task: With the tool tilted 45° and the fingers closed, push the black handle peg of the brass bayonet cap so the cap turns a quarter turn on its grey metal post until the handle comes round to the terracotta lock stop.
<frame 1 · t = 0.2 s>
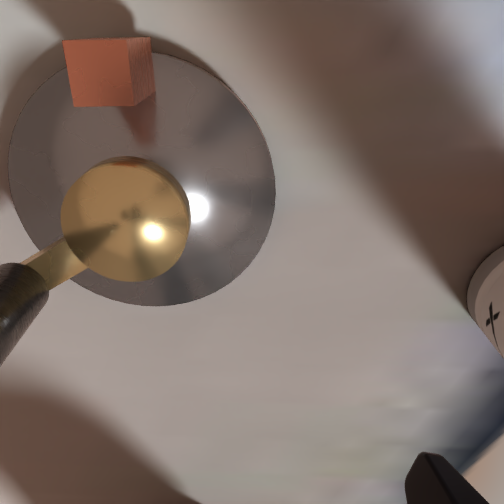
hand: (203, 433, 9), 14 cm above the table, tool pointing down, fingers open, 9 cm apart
post base: (148, 188, 22), on the table
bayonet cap: (52, 292, 15), point 8 cm above the table, hinge at 0.0°
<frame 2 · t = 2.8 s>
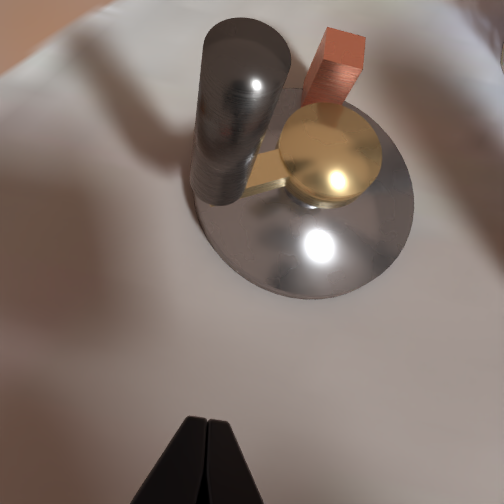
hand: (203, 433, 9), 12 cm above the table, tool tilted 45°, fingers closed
post base: (303, 192, 25), on the table
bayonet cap: (309, 120, 17), point 8 cm above the table, hinge at 0.0°
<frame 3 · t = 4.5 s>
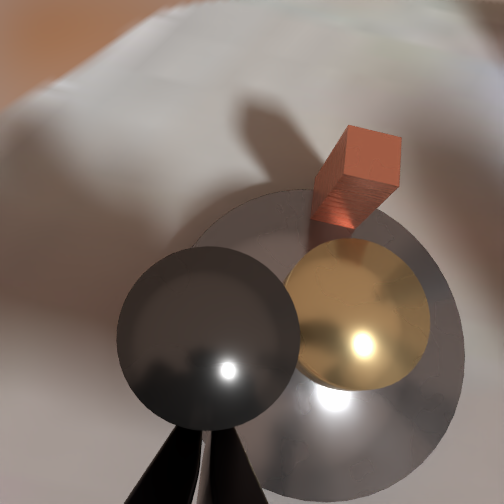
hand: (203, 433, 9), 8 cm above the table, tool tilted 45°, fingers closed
post base: (314, 332, 19), on the table
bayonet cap: (328, 314, 11), point 8 cm above the table, hinge at 0.4°, touching gripper
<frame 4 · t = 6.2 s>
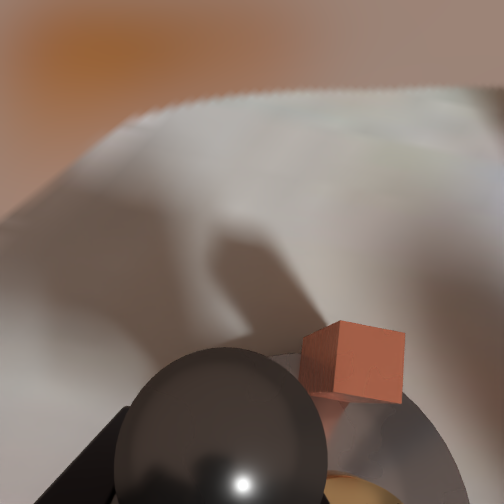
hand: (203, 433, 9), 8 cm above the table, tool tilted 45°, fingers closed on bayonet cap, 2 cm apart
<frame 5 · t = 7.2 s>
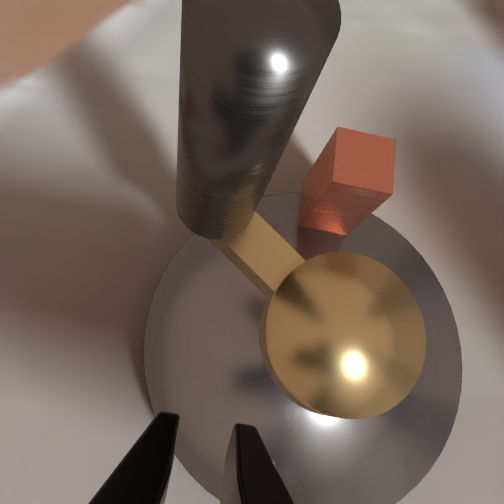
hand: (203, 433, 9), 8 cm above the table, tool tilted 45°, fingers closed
post base: (304, 346, 18), on the table
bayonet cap: (329, 248, 11), point 8 cm above the table, hinge at 66.2°
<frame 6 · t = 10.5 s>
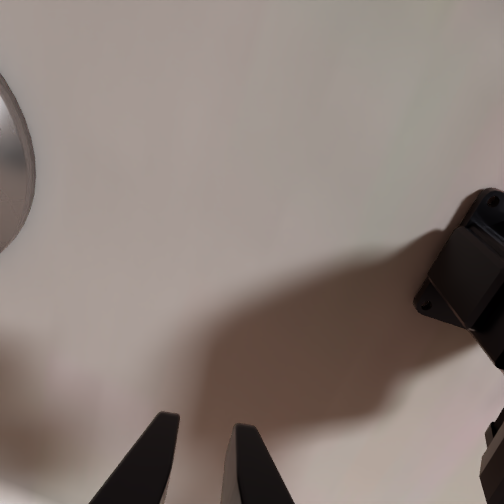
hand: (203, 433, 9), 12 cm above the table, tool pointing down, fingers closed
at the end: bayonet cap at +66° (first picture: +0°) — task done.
